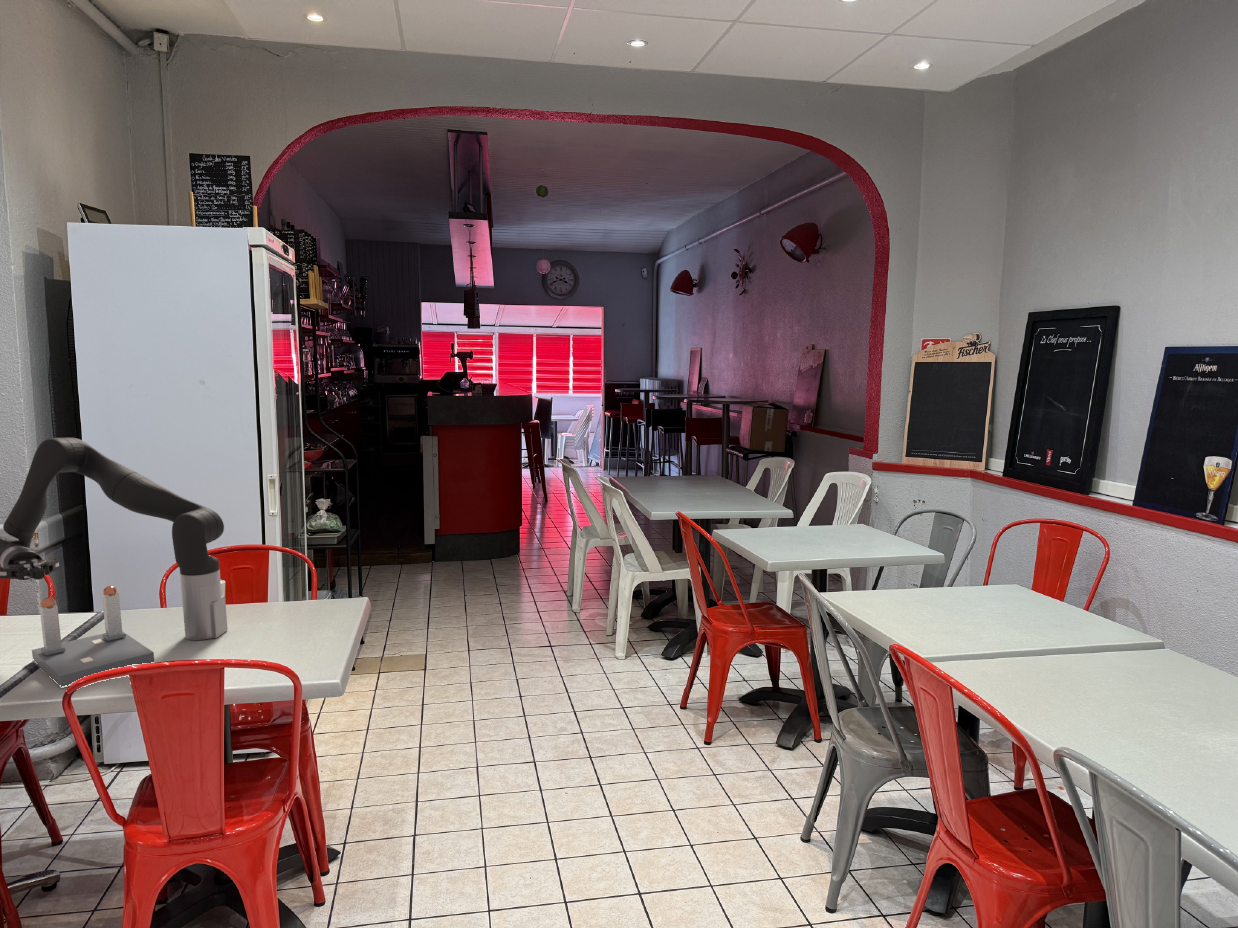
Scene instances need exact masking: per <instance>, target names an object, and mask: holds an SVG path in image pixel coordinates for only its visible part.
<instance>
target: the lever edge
mask: <svg viewBox="0 0 1238 928" xmlns="http://www.w3.org/2000/svg"><path fill="white" fill-rule="evenodd" d="M39 612H40V623H41V629H42V630H41V632H42V639H43V640H42V641H43V647H44V648H42V647H40V648H41V652H42V653H43V654H44V655H45V656H46V655H51V654H55V653H59V652H63V651H65V647H64V646H62V645H61V643H62V637H61V628H60V626H61V625H60V618H59V616H60V615H59V607H58V604H57V601H56V600H55V598H53V597H46V598H43V599H42V600H41V602H40V605H39Z"/></svg>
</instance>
